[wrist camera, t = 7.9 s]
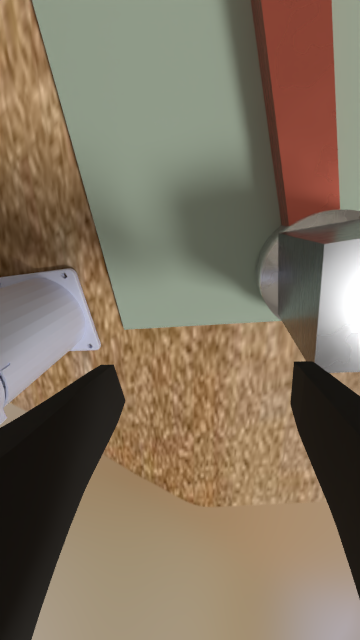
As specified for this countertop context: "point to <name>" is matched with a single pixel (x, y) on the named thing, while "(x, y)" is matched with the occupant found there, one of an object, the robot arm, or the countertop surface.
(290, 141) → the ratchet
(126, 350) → the countertop surface
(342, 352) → the brushed grey square block
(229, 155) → the mat
